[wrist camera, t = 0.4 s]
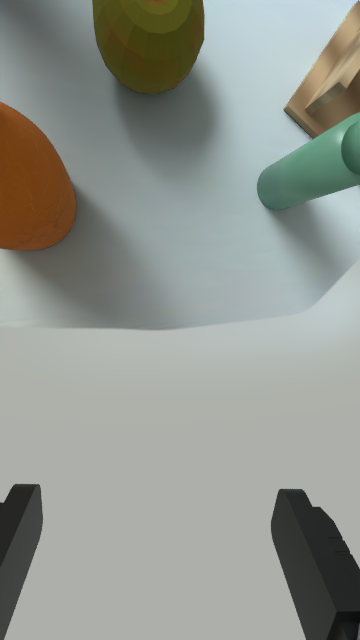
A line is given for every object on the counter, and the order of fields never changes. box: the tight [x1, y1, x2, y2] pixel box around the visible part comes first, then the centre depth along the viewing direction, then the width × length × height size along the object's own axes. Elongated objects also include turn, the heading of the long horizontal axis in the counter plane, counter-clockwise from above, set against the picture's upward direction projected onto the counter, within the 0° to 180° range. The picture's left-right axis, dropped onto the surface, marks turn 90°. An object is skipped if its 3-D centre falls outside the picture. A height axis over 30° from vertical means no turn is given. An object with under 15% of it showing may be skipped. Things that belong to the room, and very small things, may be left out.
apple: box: [92, 0, 204, 94], centre depth 29 cm, size 10×10×11 cm
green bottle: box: [257, 113, 360, 210], centre depth 29 cm, size 5×5×21 cm
